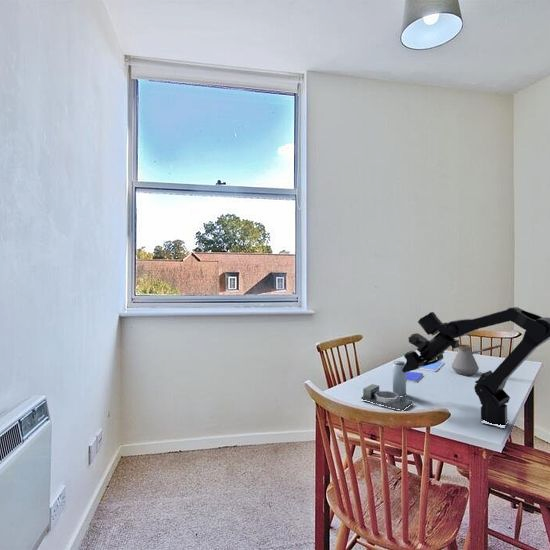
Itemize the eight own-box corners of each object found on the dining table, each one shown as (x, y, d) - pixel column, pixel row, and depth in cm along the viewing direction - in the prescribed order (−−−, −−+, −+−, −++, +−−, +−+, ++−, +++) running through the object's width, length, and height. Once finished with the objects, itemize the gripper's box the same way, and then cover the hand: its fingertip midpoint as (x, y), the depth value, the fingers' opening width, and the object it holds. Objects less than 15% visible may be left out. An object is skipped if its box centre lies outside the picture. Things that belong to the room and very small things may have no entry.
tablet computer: (419, 361, 196) (419, 358, 196) (444, 364, 188) (444, 361, 188) (409, 369, 180) (409, 366, 180) (436, 373, 173) (436, 370, 173)
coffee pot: (449, 373, 170) (448, 342, 169) (454, 368, 179) (453, 338, 179) (502, 381, 157) (502, 347, 157) (505, 375, 166) (504, 342, 166)
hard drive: (404, 370, 172) (397, 377, 162) (423, 373, 168) (417, 380, 158) (404, 374, 172) (398, 381, 162) (423, 376, 168) (417, 384, 158)
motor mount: (412, 404, 132) (412, 392, 132) (402, 411, 126) (402, 399, 126) (372, 394, 143) (372, 383, 143) (361, 400, 137) (361, 389, 137)
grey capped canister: (408, 394, 143) (407, 362, 143) (402, 398, 139) (402, 364, 139) (396, 391, 146) (395, 360, 146) (390, 395, 143) (390, 362, 142)
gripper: (435, 324, 140) (409, 348, 149) (408, 330, 129) (382, 355, 137) (456, 348, 134) (427, 371, 143) (430, 356, 123) (401, 381, 131)
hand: (409, 369), depth 139 cm, fingers open, 9 cm apart
